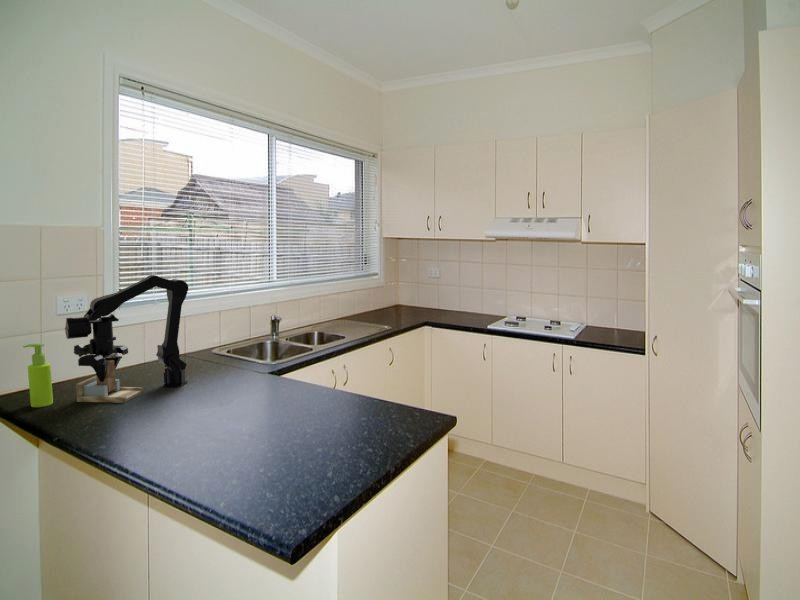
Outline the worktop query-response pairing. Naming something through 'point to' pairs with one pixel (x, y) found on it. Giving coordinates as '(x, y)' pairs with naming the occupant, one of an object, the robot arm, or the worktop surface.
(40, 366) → the soap dispenser
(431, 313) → the worktop surface
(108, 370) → the wooden post
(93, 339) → the robot arm
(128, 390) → the shallow wooden tray
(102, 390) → the block
